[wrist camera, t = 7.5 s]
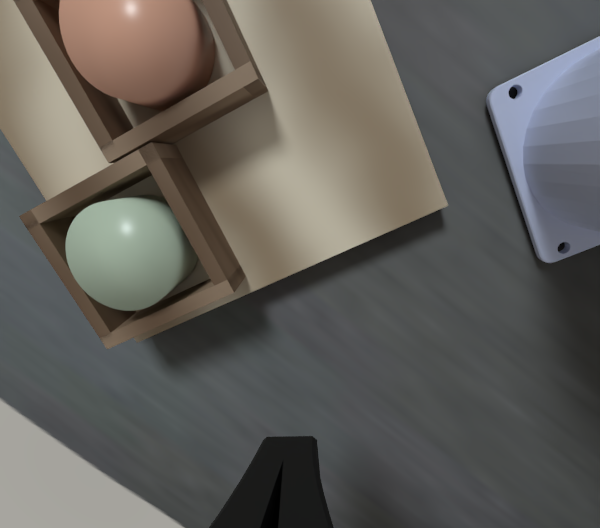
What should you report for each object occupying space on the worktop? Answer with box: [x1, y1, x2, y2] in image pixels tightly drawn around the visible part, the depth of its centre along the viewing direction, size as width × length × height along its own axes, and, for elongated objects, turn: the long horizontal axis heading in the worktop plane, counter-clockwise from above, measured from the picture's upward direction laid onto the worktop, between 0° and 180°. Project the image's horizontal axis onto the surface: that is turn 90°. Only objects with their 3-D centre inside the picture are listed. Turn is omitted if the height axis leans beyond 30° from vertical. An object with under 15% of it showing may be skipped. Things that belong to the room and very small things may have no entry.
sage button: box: [65, 195, 198, 311], centre depth 15 cm, size 4×4×3 cm
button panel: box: [0, 0, 448, 349], centre depth 14 cm, size 16×21×3 cm
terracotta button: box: [59, 0, 215, 111], centre depth 13 cm, size 4×4×3 cm
